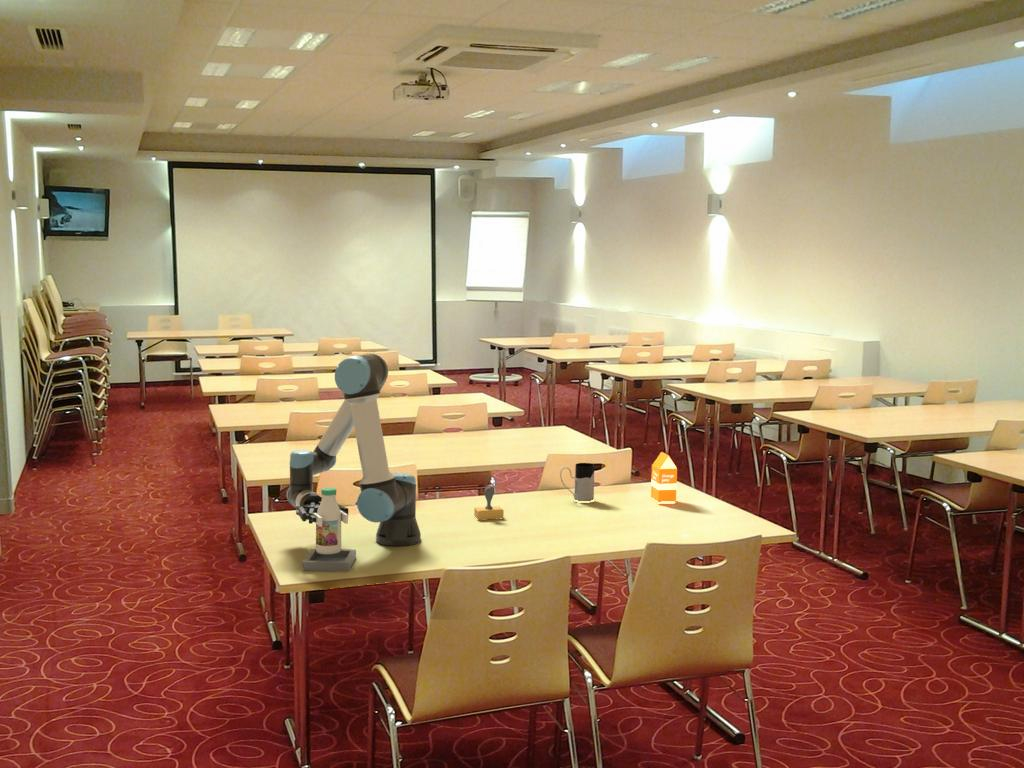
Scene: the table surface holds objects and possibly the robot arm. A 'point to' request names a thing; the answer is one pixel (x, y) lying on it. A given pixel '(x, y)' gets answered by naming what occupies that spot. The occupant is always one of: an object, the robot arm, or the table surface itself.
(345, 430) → the robot arm
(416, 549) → the table surface
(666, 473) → the orange juice
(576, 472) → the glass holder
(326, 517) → the milk bottle
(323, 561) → the tray
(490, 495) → the rubber stamp
